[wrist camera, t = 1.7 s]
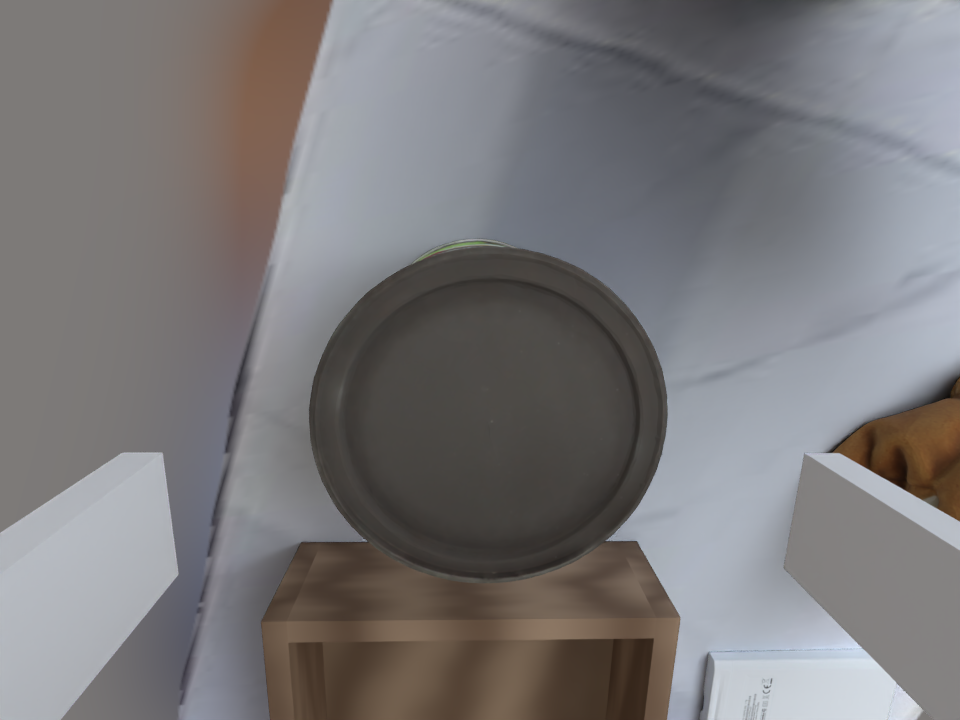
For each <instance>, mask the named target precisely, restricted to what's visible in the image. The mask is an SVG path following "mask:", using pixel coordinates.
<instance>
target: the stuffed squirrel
mask: <svg viewBox="0 0 960 720" xmlns="http://www.w3.org/2000/svg"><path fill="white" fill-rule="evenodd" d="M832 453H840V454H842V455H844V456H845V457H847V458H849V459H851V460H852V461H854V462H856V463H858V464H859V465H861V466H863V467H865V468H866V469H868V470H870V471H872V472H873V473H875V474H877V475H879V476H880V477H882V478H884V479H886V480H888V481H889V482H891V483H893V484H895V485H896V486H898V487H900V488H902V489H903V490H905V491H907V492H909V493H910V494H912V495H914V496H916V497H917V498H919V499H921V500H923V501H924V502H926V503H928V504H930V505H931V506H933V507H935V508H937V509H938V510H940V511H942V512H944V513H945V514H947V515H949V516H951V517H952V518H954V519H956V520H958V521H960V377H959V379H958V380H957V381H956V383H955V385H954V386H953V388H952V390H951V397H950V398H947V399H943V400H940V401H938V402H935V403H931V404H928V405H924V406H922V407H918V408H915V409H912V410H909V411H905V412H902V413H899V414H896V415H892V416H889V417H885V418H881V419H877V420H874V421H872V422H869V423H867V424H866V425H864V426H862V427H861V428H860V429H858V430H857V431H856V432H855V433H853V434H852V435H851V436H850V437H849V438H847V439H846V440H845V441H844V442H843V443H842V444H841V445H839V446H838V447H837V448H836V449H835V450H834V451H833V452H832Z"/></svg>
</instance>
